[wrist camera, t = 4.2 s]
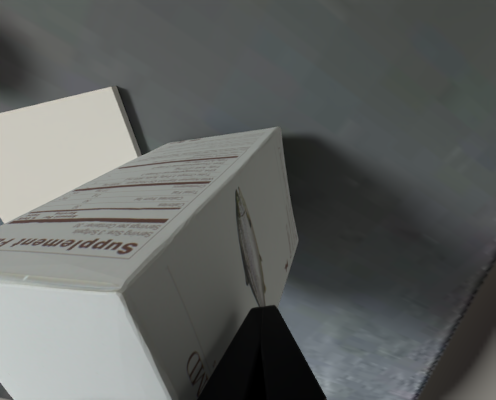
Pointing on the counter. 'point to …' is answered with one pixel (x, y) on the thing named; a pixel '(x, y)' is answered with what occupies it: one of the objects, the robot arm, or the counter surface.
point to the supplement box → (145, 271)
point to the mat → (61, 148)
